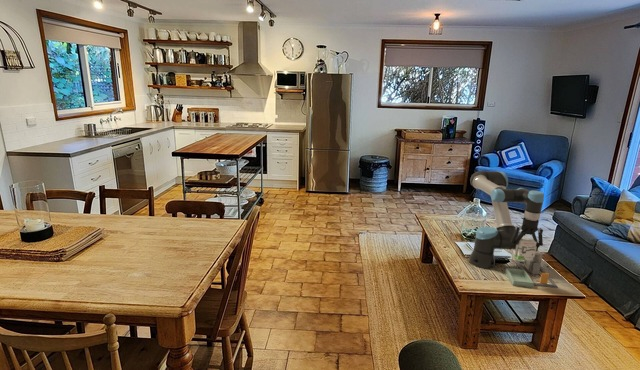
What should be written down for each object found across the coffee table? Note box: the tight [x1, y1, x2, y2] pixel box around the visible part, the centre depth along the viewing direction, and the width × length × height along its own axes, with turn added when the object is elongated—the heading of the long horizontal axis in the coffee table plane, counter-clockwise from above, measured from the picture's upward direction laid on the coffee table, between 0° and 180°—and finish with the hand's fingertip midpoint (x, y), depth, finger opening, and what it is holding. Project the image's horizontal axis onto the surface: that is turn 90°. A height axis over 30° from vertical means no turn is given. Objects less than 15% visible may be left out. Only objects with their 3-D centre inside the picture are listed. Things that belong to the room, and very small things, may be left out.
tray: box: [504, 267, 535, 288], centre depth 212 cm, size 11×15×3 cm
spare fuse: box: [523, 250, 543, 273], centre depth 223 cm, size 5×9×12 cm, turn 170°
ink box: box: [513, 237, 537, 261], centre depth 206 cm, size 9×5×12 cm, turn 89°
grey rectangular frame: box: [514, 259, 558, 288], centre depth 218 cm, size 14×28×7 cm, turn 170°
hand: (523, 255), depth 207 cm, fingers closed on ink box, 9 cm apart
